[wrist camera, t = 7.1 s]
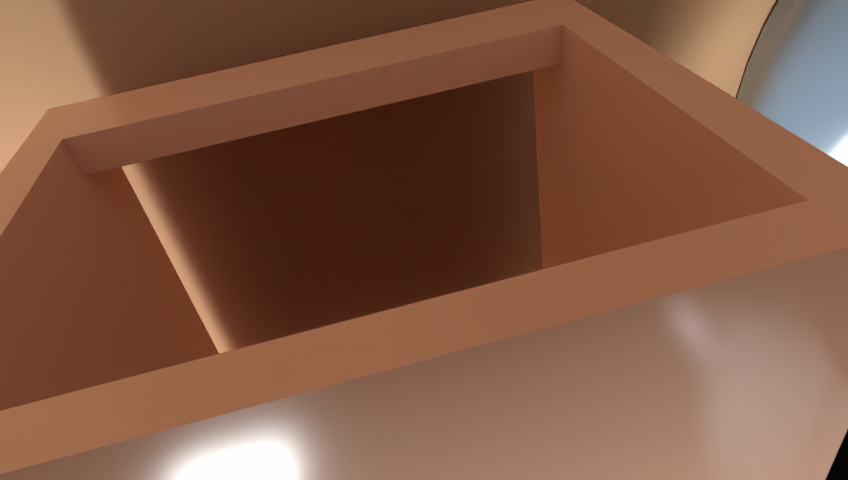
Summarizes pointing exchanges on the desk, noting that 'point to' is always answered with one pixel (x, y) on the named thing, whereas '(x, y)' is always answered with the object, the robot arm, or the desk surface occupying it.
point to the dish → (803, 73)
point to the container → (453, 313)
